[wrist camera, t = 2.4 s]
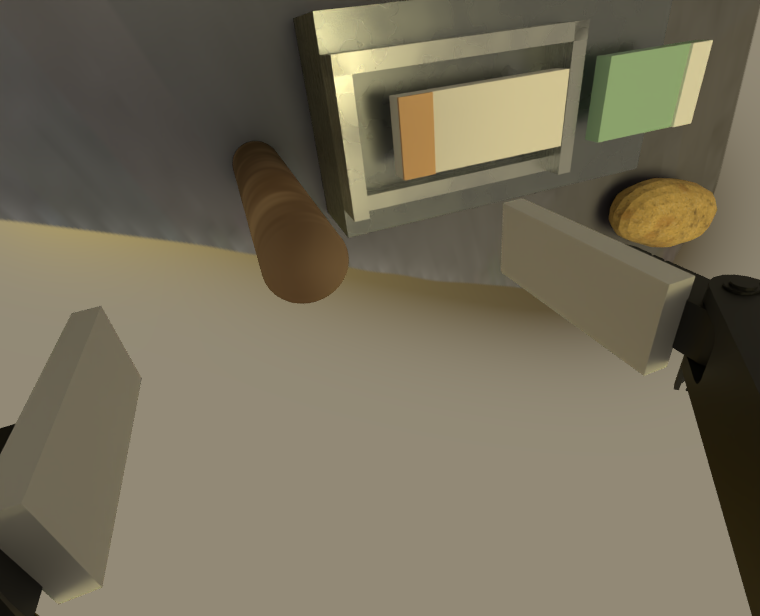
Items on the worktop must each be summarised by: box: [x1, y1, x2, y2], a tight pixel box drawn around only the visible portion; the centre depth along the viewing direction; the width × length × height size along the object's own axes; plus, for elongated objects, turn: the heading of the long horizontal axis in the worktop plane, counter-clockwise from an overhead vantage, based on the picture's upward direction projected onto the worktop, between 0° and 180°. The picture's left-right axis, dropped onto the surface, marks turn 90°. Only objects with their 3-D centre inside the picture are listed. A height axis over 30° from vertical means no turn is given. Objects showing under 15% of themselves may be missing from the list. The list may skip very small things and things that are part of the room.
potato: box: [609, 178, 717, 247], centre depth 43 cm, size 7×11×6 cm, turn 82°
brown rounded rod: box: [233, 141, 349, 303], centre depth 24 cm, size 3×3×18 cm
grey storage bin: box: [293, 0, 672, 238], centre depth 31 cm, size 25×13×8 cm, turn 96°
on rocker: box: [585, 40, 713, 142], centre depth 29 cm, size 8×5×1 cm, turn 96°
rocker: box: [389, 68, 570, 180], centre depth 26 cm, size 11×4×1 cm, turn 96°
